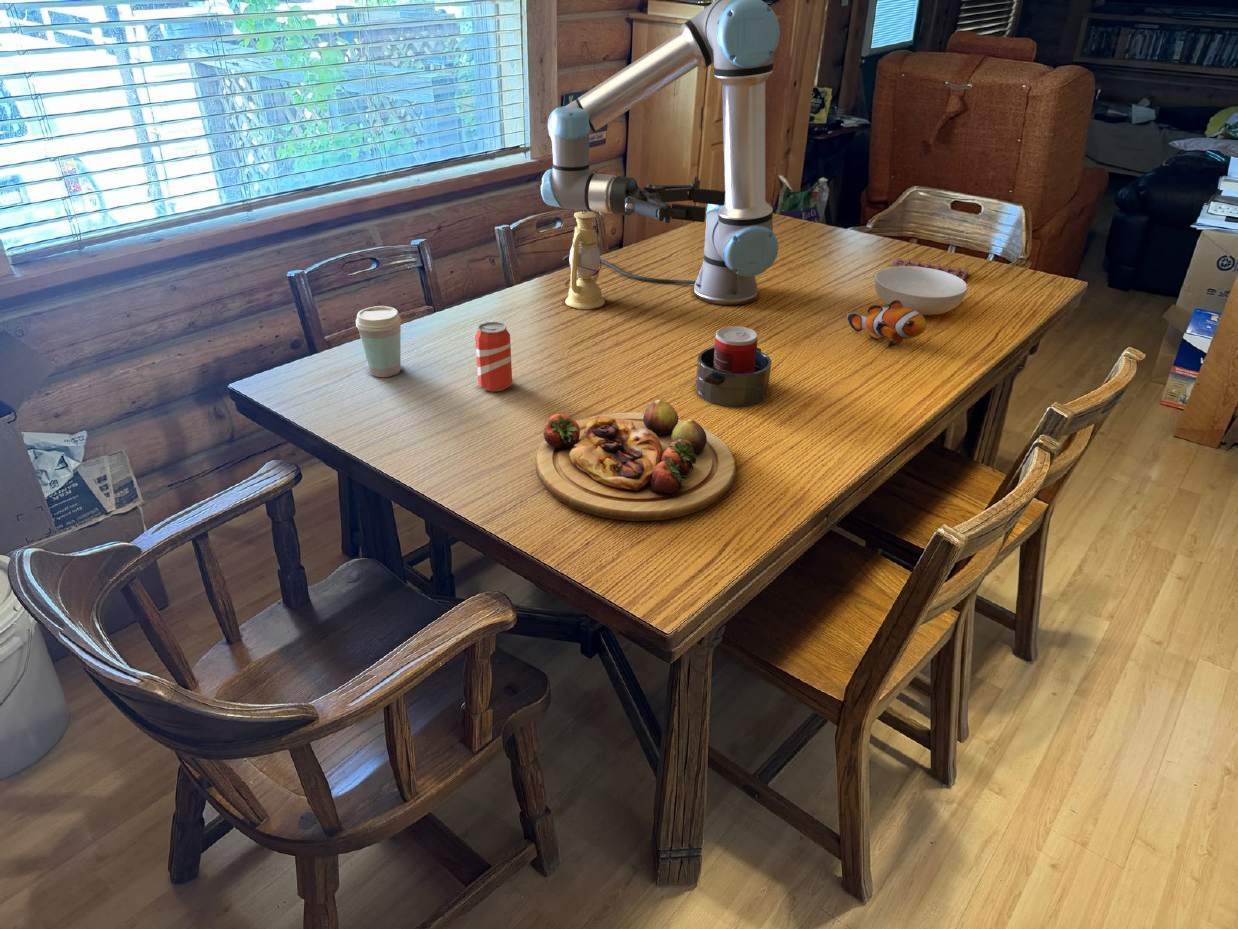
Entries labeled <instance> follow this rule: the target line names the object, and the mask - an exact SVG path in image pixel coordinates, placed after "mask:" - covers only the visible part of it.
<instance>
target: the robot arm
mask: <svg viewBox="0 0 1238 929" xmlns="http://www.w3.org/2000/svg"><path fill="white" fill-rule="evenodd" d="M779 22H780V21H779V20H778V17H777V15H776V13H775V11H774V10H773V9H772V8H771V7H770V5H768V3H766V2H765V1H763V0H715V1H713V2H712V3H711V4H709V5H708V6H707V7H705V8H703V9H702V10H701V11H699V12H698V13H697V14H695V15H694V16H693V17H692V18H691V17H690V19H688V20H687V21H685V22H684V23H682V24H681V27H680V31H679V32H678V33H676V34H674V35H673V36H672V37H670V38H669V39H667V40H665V41H664V42H662V43H661V44H659V45H658V46H656V47H655V48H653V49H652V50H650V51H649V52H646V54H644V55H643V56H641V57H640V58H638V59H637V60H634V61H633V62H632V63H630V64H628V65H627V66H625V67H624V68H622V69H621V70H619V71H617V72H616V73H615V74H613V75H612V76H610V77H608V78H607V79H605V80H604V81H602V82H601V83H599V84H598V85H595V87H593V88H591V89H589V90H588V91H587V92H585V93H583V94H582V95H581V96H579V97H577V98H576V99H574V100H573V101H572V102H570V103H568V104H566V105H565V106H564V105H563V106H558V107H556V108H555V109H554V110H552V111H551V113H550V115H549V117H548V120H547V132H548V136H549V138H550V139H551V146H552V150H551V151H552V168H549V169H547V170H546V171H545V172H544V174H543V175H542V178H541V184H540V194H541V197H542V201H543V202H544V204H546V205H548V206H549V207H554V208H561V209H564V210H572V209H573V210H576V211H582V210H583V211H587V212H593V213H595V212H596V213H597V212H598V213H599V215H600V216H604V214H612V213H613V214H614V215H617V216H626V217H630V216H632V215H633V214H636V215H639V216H642V217H646V218H650V219H652V220H656V221H659V222H662V221H663V223H666V224H669V223H671V220H681V221H689V222H697V223H705V230H704V231H705V232H704V246H703V247H704V248H703V260H702V261H703V262H702V265H701V267H700V270H699V272H698V275H697V277H696V280H689V279H688V280H687V279H667V278H666V279H664V278H653V277H646V276H641V275H637V274H632V273H630V272H627V271H624V270H623V269H621V268H620V267H618V266H617V265H616V264H612V263H611V262H609V261H607V260H605V259H602V258H600V260H601V264H603V265H606V266H608V268H611V269H613V270H615V271H616V272H618V273H619V274H620V275H622V276H626V277H628V278H631V279H634V280H639V281H646V282H652V283H663V284H681V285H683V284H685V285H694V286H693V295H694V296H695V298H697V299H699V300H700V301H702V302H706V303H708V304H712V305H720V306H740V305H745V304H746V305H747V304H750V303H752V302H754V301H756V299H757V297H758V285H757V280H756V279H757V278H756V276H758V275H761V274H763V273H764V272H766V271H767V270H768V269H769V268H771V266H773V264H774V263H775V262H776V259H777V257H778V255H779V254H778V253H779V241H778V238H777V235H776V234H775V232H774V231H773V230H774V218H773V217H774V216H773V214H774V210H773V206H772V205H771V204H769V203H768V202H767V201H766V193H767V192H766V186H767V185H766V81H767V80H768V79H769V77H770V76H771V75H772V74H773V73H774V53H775V51H776V50H777V49H778V45H779V42H780V37H781V36H780V35H781V30H780V23H779ZM712 64H713V76H714V77H715V79H717V80H718V81H719V82H720V84H721V88H722V89H721V92H722V95H721V96H722V122H723V123H722V127H723V128H722V131H723V133H722V134H723V135H722V136H723V169H724V170H723V173H724V174H723V175H724V190H718V189H708V188H699V187H696V183H692V182H691V184H651V183H649V184H647V185H645V186H643V187H642V188H640V187H639V186H638V182H637V180H636V178H635V177H630V176H622V175H617V176H616V175H614V174H604V173H592V172H590V136H591V135H592V134H593V133H595V132H596V131H598V130H600V129H601V128H602V127H605V126H606V125H608V124H609V123H610V122H613V121H614V120H615V119H617V118H619V117H620V116H622V115H623V114H625V113H626V112H628V111H629V110H632V109H633V108H634V107H636V106H638V105H639V104H641V103H642V102H644V101H645V100H647V99H648V98H650V97H652V96H653V95H655V94H657V93H658V92H659V91H661V90H662V89H664V88H666V87H668V86H669V85H670V84H673V83H674V82H676V81H677V80H678V79H680V78H682V77H683V76H685V75H686V74H688V73H689V72H691V71H693V70H694V69H696V68H703V69H705V68H707V67H708V66H710V65H712ZM690 201H691V202H692V203H696V204H704V205H705V204H706V205H707V206H706V207H705V206H698V205H689V204H680V203H674V202H690ZM670 203H672V204H670ZM569 257H570V253H569V254H567V255H565V256H564V257H563V258H562V259H561V260H562V261H567V260H569Z"/></svg>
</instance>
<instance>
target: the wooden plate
mask: <svg viewBox="0 0 1238 929" xmlns="http://www.w3.org/2000/svg"><path fill="white" fill-rule="evenodd" d="M543 429H544V430H543V439H544V440H543V442H542V443H541V445H540V446H539V448H538V450H537V452H536V456H535V471H536V475H537V478H538V480H539V481H540V484H542V486H543V487H544V488H545V489H546V490H547V491H548V492H549V493H550V494H551V495H552V496H553V497H554V498H555V499H557V500H558V501H560V502H561V503H562V504H565V505H567V506H569V507H571V508H572V509H575V510H577V511H580V512H584V513H586V514H590V515H593V516H597V517H602V518H607V519H612V520H619V521H633V522H634V521H636V522H646V521H648V522H649V521H663V520H668V519H673V518H679V517H683V516H686V515H690V514H693V513H696V512H699V511H702V510H704V509H705V508H708V507H710V506H711V505H713V504H714V503H716V502H717V501H718V500H720V499H721V498H722V497H723V496H724V495H725V494H726V493H727V492H728V491H729V490H730V488H731V486H732V485H733V483H734V480H735V478H736V472H737V465H736V460H735V458H734V455H733V452H732V451H731V448H729V446H728V445H727V444H726V443H725V442H724V441H723V440H722V439H721V438H719V437H718V436H716V434H714V433H713V432H711V431H709V430H707V429H705V428H704V427H702V425H700V424H699V423H698V422H697V421H696V420H693V419H691V418H688V419H686V420H684V419H680V418H679V415H678V413H677V410H676V409H675V407H673V405H671V404H670V403H669V402H667V401H665V400H663V399H655V400H653V401H652V402H651V403H650V404H649V405H648V406H647V407H646V409H645V411H644V412H612V413H603V414H598V415H592V416H591V415H590V416H587V417H584V418H580V419H578V420H574V419H573V418H571V417H570V416H569V415H567V414H561V413H556V414H554V415H552V416H550V417H549V418H548V420H547V423H546V424H545V425H544V428H543Z"/></svg>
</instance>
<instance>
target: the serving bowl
mask: <svg viewBox="0 0 1238 929" xmlns="http://www.w3.org/2000/svg"><path fill="white" fill-rule="evenodd" d="M873 279H874V282H873V284H874V290H875V293H876V295H877V297H878V298H879V299H880V300H881V301H882V302H883V303H884V304H885V305H886V306H887V305H889V304H890V303H891V302H893V301H894V300H898V301H900V302H901V303H902V305H903V306H904V307H905V308H910V309H913V310H915V311H917V312H918V313H920V314H921V315H924V316H935V315H936V316H937V315H941V314H945V313H947V312H950V311H952V310H954V309H955V308H956V307H958V306H959V305H960V304H961V303H962V302H963V300H964V298H965V296H966V294H967V292H968V289H969V287H968V283H966V281H965V280H964V281H963V280H962V279H961V278H959V277H957V276H955V275H953V274H950V273H947V272H944V271H940V270H936V269H931V268H924V267H914V266H898V267H891V266H890V267H885V268H882V269H880V270H878V271H877V272H876V273H875V274H874V278H873Z"/></svg>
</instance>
